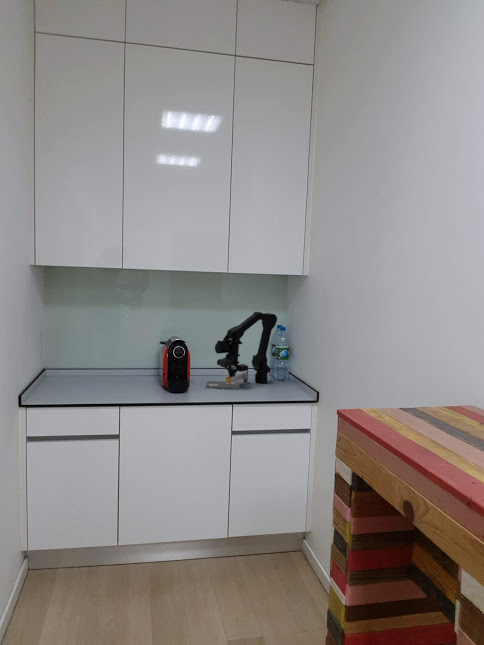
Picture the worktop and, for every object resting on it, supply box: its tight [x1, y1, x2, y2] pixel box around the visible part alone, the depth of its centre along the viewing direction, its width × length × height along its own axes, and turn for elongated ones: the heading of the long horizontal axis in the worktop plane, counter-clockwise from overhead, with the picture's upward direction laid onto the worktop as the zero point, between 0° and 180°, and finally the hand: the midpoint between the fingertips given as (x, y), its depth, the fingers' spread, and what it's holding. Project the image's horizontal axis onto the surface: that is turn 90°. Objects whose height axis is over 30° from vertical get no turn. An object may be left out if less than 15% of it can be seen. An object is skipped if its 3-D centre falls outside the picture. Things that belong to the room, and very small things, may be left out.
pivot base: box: [240, 381, 251, 385], centre depth 279 cm, size 5×5×1 cm
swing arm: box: [225, 370, 249, 383], centre depth 272 cm, size 19×2×6 cm, turn 146°
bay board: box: [204, 380, 241, 390], centre depth 272 cm, size 18×14×1 cm
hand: (231, 380), depth 272 cm, fingers closed
